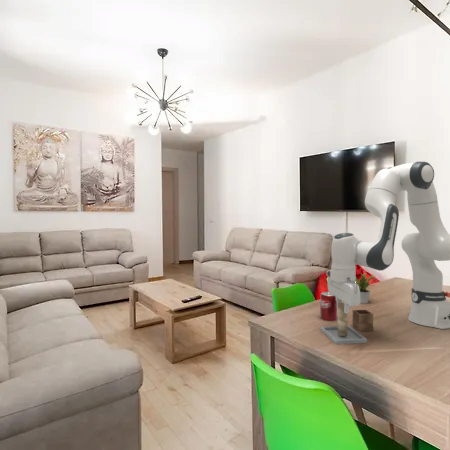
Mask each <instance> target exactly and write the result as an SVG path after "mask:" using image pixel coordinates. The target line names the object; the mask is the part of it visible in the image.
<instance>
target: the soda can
mask: <svg viewBox="0 0 450 450" xmlns="http://www.w3.org/2000/svg"><path fill="white" fill-rule="evenodd" d="M319 296H320V298H319V299H320V300H319V301H320V302H319V303H320V305H319V306H320V307H319V308H320V309H319V310H320V311H319V318H320V319H321V320H322V321H327V322H334V321H338V308H337V302H336V297H335V296H334V295H332V294H331V293H329V291H323V292H321V293H320V295H319Z"/></svg>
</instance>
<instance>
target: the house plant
mask: <svg viewBox="0 0 450 450" xmlns="http://www.w3.org/2000/svg"><path fill="white" fill-rule="evenodd" d="M360 274H361V275H360V276H361V277H360V278H359V279H358V278H357V276H356V280H355V281H356V284H357V285H358V286H359V289H360V304H364V305H365V304H368V303H369V299H370V295H371V294H370V293H371V291H370V290H369V289H370V287H371V284H370V283H371V280H372V281H375V279H373V278H375V274H373V275H370V276H369V277H366V272H365V271H364V273H363V274H362V272H360ZM369 286H370V287H369ZM372 287H375V284H372ZM367 288H368V289H367Z"/></svg>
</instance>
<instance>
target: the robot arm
mask: <svg viewBox="0 0 450 450" xmlns="http://www.w3.org/2000/svg"><path fill="white" fill-rule="evenodd" d="M434 179H435V170H434V167H433V166H432V165H431V164H430V163H429V162H428V161H415V162H408V163H407V162H406V163H401V164H399V165H395V166H393V167H392V166H390V167H388V168H383V169H381V170H378V172H377V173H376V174H375V176H374V178H373V179H372V181H371V183H370V185H369V187H368V190H367V192H366V195H365V198H364V205H365V208H366V209H367V211H368V212H370V213H371V214H372V215H374V216H375V217H377V218H379V219H380V220H381V224H380V229H379V235H378V239H377V240H376V241H373V242H371V241H363V240H361V239H359V238H357V237H355V235H354V233H351V232H342V233H338V234H335V235H334V236H333V238H332V242H331V253H330V254H331V255H330V256H331V260H332V262H331V266H330V267H331V269H328V270H326V276H327V292H329V293H331V294H332V295H334V296H335V297H336V302H337V309H338V303H341V302H342V303H344V304H345V306H344V308H343V312H344V313H348V314H349V313H350V308H351V307H359V306H360V305H361V303H360V289H361V288H360V289H359V287H360V286H358V285H359V284H358V285H357V284H356V282H357V281H356V277H357V276H356V275H357V274H356V271H357V269H356V268H357V267H356V266H357V265H358V266H361V267H366V268H370V269H373V270H376V271H384V270H386V269H388V268H389V267H390V266H391V265H392V263H393V261H394V257H395V256H394V255H395V254H394V253H395V251H394V250H395V249H394V248H395V241H396V237H397V230H398V225H399V219H400V218H399V216H400V212H399V211H400V210H399V208H398V207H397V206H396V201H397V198H398V194H399V192H401V191H402V192H403V191H406V193H407V195H406V196H407V197H406V198H407V199H406V200H407V206H408V214H409V215H408V216H409V221H410V223H411V224H412V226H415V228H416V229H417V231H418V232H413V233H408V234H406V235H404V237H403V238H402V239H401V248H402V250H403V252H404V253H405V254H406V255H407V258H408V260H409V262H410V266H411V270H412V288H411V292H410V293H411V306H410V311H409V314H408V317H407V320H408V321H410V322H412V323H414V324H416V325H420V326H425V327H431V328H437V329H441V330H446V329H450V301H448V300H447V298H450V292H448V291H444V290H443V282H444V281H443V277H444V276H443V273H442V271H441V269H439V267H438V266H437V264H436V262H435V261H437V262H438V261H439V262H443V261H444V262H445V261H450V233H449V232H448V231H447V229H446V227H445V226H444V224H443V221H442V219H441V213H440V208H439V201H438V195H437V190H436V188H435V185H434Z"/></svg>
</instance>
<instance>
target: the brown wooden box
mask: <svg viewBox="0 0 450 450" xmlns="http://www.w3.org/2000/svg"><path fill="white" fill-rule="evenodd" d="M352 326H353V327H352ZM352 326H351V327H352V328H355V329H356V330H357V331H359V332H361V331H362V332H366V331H374V313H372V312H371V311H369V310H368V309H352Z"/></svg>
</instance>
